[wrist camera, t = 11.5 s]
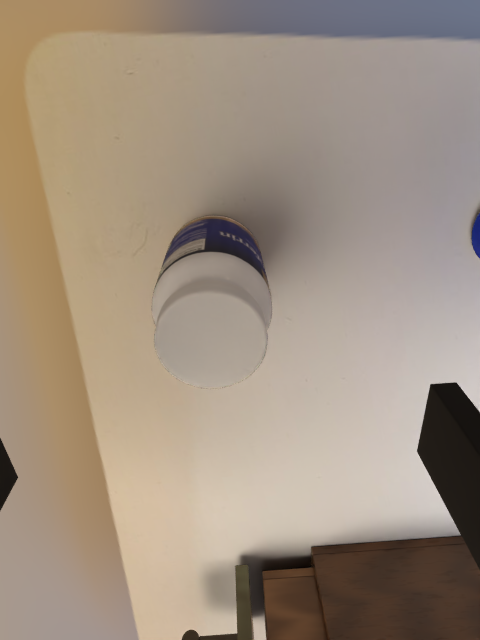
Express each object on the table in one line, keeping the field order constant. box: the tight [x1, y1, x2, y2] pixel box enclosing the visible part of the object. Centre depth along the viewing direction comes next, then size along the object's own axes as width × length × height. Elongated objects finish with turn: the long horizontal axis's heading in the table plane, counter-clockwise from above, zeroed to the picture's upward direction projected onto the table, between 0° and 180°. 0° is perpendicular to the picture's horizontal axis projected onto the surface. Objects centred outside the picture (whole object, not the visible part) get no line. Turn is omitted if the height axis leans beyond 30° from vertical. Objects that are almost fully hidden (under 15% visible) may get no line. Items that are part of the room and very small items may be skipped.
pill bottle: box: [152, 216, 272, 389], centre depth 22 cm, size 6×6×10 cm
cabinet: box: [311, 536, 480, 640], centre depth 39 cm, size 15×13×10 cm
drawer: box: [182, 565, 328, 640], centre depth 39 cm, size 18×11×8 cm, turn 93°
